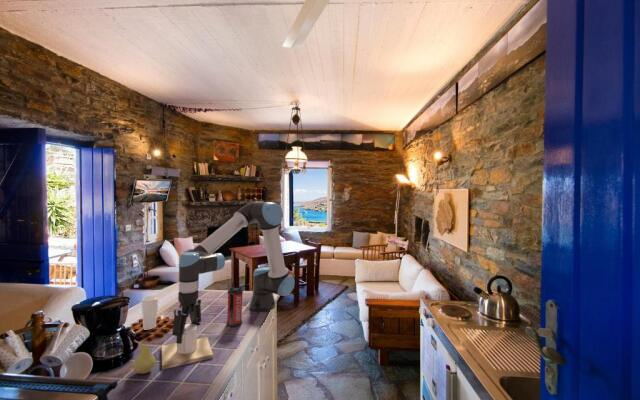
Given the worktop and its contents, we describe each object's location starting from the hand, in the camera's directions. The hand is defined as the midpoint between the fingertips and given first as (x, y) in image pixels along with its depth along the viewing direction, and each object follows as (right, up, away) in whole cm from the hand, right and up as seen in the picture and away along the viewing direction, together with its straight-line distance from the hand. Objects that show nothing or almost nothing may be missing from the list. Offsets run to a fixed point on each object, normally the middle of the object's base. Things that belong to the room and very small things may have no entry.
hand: (187, 345), depth 120 cm
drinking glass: (-27, -2, +20) cm, 34 cm away
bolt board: (0, -3, 0) cm, 3 cm away
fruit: (-10, -3, -13) cm, 17 cm away
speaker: (+11, -4, +29) cm, 31 cm away
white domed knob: (0, -2, 0) cm, 2 cm away
